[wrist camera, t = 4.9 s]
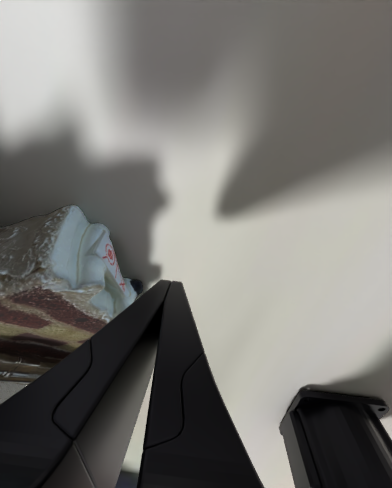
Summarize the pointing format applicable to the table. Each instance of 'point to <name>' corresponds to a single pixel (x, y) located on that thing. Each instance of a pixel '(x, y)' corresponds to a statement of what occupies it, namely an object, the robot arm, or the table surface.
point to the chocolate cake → (55, 290)
